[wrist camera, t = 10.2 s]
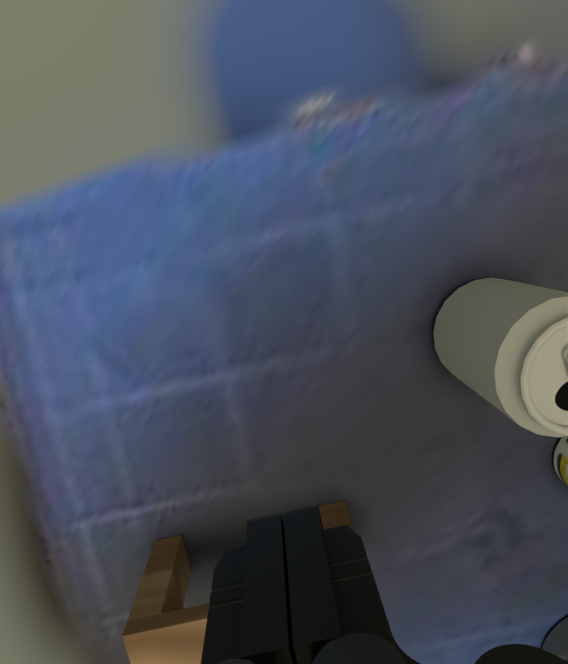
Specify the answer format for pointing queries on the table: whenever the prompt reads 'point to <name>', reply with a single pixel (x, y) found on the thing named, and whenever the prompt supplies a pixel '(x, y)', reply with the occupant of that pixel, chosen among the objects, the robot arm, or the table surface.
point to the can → (510, 349)
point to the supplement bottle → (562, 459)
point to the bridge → (180, 602)
